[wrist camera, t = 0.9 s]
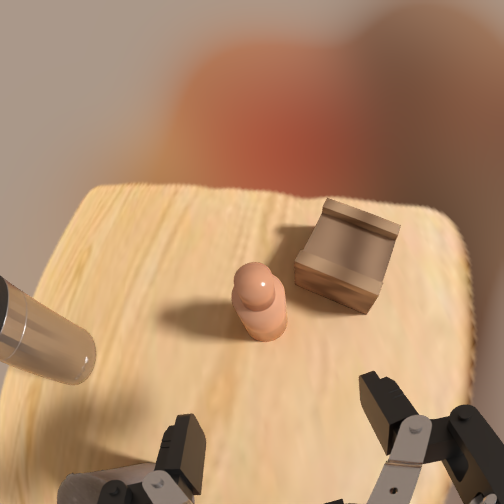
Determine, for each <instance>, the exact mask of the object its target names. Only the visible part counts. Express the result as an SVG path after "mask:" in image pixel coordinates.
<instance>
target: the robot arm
mask: <svg viewBox="0 0 504 504" xmlns="http://www.w3.org/2000/svg"><path fill="white" fill-rule="evenodd" d="M95 357H96V350H95V344H94V341H93V339H92V337H91V335H90V334H89V333H88V332H87V331H86V330H85V329H83V328H81V327H79V326H78V325H76V324H74V323H72V322H71V321H69V320H67V319H66V318H64V317H62V316H61V315H59V314H57V313H56V312H54V311H52V310H51V309H49V308H47V307H46V306H44V305H43V304H41V303H39V302H38V301H36V300H35V299H33V298H32V297H30V296H29V295H27V294H26V293H24V292H23V291H21V290H20V289H18V288H17V287H15V286H14V285H12V284H11V283H10V282H8V281H7V280H5V279H4V278H3V277H1V276H0V361H1V362H3V363H6V364H8V365H11V366H14V367H16V368H19V369H22V370H24V371H27V372H30V373H33V374H36V375H39V376H42V377H45V378H48V379H51V380H55V381H58V382H61V383H65V384H68V385H77V384H80V383H82V382H83V381H85V380H86V379H87V378H88V376H89V375H90V374H91V372H92V370H93V367H94V364H95ZM359 389H360V401H361V405H362V408H363V410H364V412H365V414H366V416H367V418H368V420H369V422H370V424H371V426H372V428H373V430H374V432H375V434H376V436H377V438H378V440H379V441H380V443H381V445H382V447H383V450H384V452H385V454H386V456H387V455H390V457H389V459H388V461H386V463H385V464H384V467H383V469H382V471H381V474H380V476H379V478H378V481H377V483H376V485H375V487H374V489H373V492H372V494H371V496H370V498H369V500H368V502H367V504H409V503H410V500H411V498H412V495H413V492H414V489H415V486H416V483H417V480H418V477H419V474H420V471H421V467H422V464H426V463H431V462H436V461H440V460H441V461H442V463H443V465H444V466H445V468H446V470H447V472H448V474H449V476H450V478H451V480H452V482H453V484H454V485H455V487H456V489H457V491H458V493H459V495H460V497H461V499H462V501H463V503H464V504H504V444H503V443H502V441H501V440H500V439H499V437H498V436H497V435H496V433H495V432H494V431H493V429H492V428H491V427H490V425H489V424H488V423H487V422H486V420H485V419H484V418H483V416H482V415H481V414H480V413H479V411H478V410H477V409H476V408H475V407H473V406H471V405H460V406H458V407H456V408H455V409H453V410H452V412H451V413H450V416H448V417H443V418H439V419H429V418H428V417H426V416H423V415H419V414H418V413H417V411H416V410H415V408H414V407H413V406H412V404H411V403H410V401H409V400H408V399H407V397H406V396H405V395H404V393H403V392H402V390H401V389H400V388H399V386H398V385H397V383H396V382H395V381H394V380H392V379H390V378H388V377H384V378H382V379H380V378H379V377H378V375H377V374H376V372H375V371H371V372H368V373H366V374H363V375H360V376H359ZM160 448H161V449H160V450H159V454H158V457H157V461H156V465H155V469H154V471H153V472H150V473H149V474H147V475H146V476H145V477H144V479H143V482H139V483H135V484H130V485H126V484H125V483H124V482H122V481H120V480H111V481H108V482H107V483H105V484H104V485H103V487H102V489H101V492H100V495H99V498H98V502H97V504H194V503H193V502H192V498H193V495H201V488H202V478H203V469H204V459H205V450H206V438H205V434H204V432H203V430H202V429H201V427H200V425H199V423H198V421H197V419H196V417H195V416H194V414H184V415H178V416H177V418H176V422H175V425H173V426H169V427H168V429H167V430H166V431H165V432H164V435H163V439H162V442H161V446H160ZM325 504H344V503H343V499H339V500H336V501H332V502H329V503H325ZM348 504H355V503H348Z"/></svg>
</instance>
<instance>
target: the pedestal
mask: <svg viewBox="0 0 504 504" xmlns="http://www.w3.org/2000/svg"><path fill="white" fill-rule="evenodd" d="M400 226H401V225H399V224H396V223H394V222H391V221H389V220H386V219H383V218H381V217H378V216H376V215H373V214H370V213H368V212H365V211H362V210H360V209H357V208H354V207H352V206H349V205H346V204H343V203H340V202H338V201H335V200H332V199H329V198H327V199H326V201H325V203H324V205H323V209H322V214H321V216H320V218H319V220H318V222H317V224H316V226H315V228H314V230H313V232H312V234H311V236H310V238H309V240H308V241H307V243H306V245H305V247H304V249H303V250H300V251H299V253H298V255H297V257H296V259H295V261H294V264H295V285H298V286H300V287H302V288H305V289H307V290H309V291H312V292H314V293H316V294H319V295H321V296H323V297H326V298H328V299H330V300H333V301H335V302H338V303H340V304H342V305H345V306H347V307H349V308H352V309H354V310H357V311H359V312H361V313H364V314H366V315H367V313H368V311H369V310H370V308H371V307H372V305H373V304H374V302H375V301H376V299H377V297H378V296H379V293H380V290H381V287H382V285H383V283H382V281H383V279H384V276H385V273H386V270H387V266H388V263H389V260H390V257H391V254H392V251H393V247H394V244H395V241H396V238H397V236H398V233H399V230H400Z"/></svg>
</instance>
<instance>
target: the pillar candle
mask: <svg viewBox="0 0 504 504" xmlns="http://www.w3.org/2000/svg"><path fill="white" fill-rule="evenodd" d="M155 465H156V463H142V464H136V465H132V466H126V467H121V468H115V469H109V470H102V471H95V472H89V473H78V474H73V473H72V474H69V475H67V477H66V479H65V480H64V481H63V482H62V483H61V485H60V487H59V490H58V495H57V504H97V502H98V498H99V495H100V492H101V489H102V487H103V485H104V484H105V483H107V482H108V481H111V480H120V481H122V482H124V483H125V484H126V485H130V484H135V483H139V482H143V479H144V477H145V476H146V475H147V474H149V473H150V472H153V471H154V469H155ZM192 502H193V503H194V496H193V498H192Z"/></svg>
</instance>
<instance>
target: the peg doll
mask: <svg viewBox="0 0 504 504" xmlns="http://www.w3.org/2000/svg"><path fill="white" fill-rule="evenodd" d="M232 304H233V306H234V308H235V310H236V312H237V314H238V316H239V317H240V319H241V321H242V323H243V325H244V326H245V328H246V330H247V332H248V333H249V335H250V336H251V337H253V338H254V339H256V340H258V341H262V342H269V341H273V340H275V339H277V338H279V337H280V336H281V335H282V334H283V333H284V331H285V329H286V326H287V311H286V300H285V290H284V287H283V285H282V283H281V281H280V280H279V279H278V278H277V277H276V276H274V275H273V274H272V272H271V271H270V269H269V268H268V267H267V266H265V265H264V264H261V263H257V262H252V263H248V264H245V265H243V266H242V267H240V268H239V269H238V271H237V272H236V274H235V276H234V288H233V290H232Z"/></svg>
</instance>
